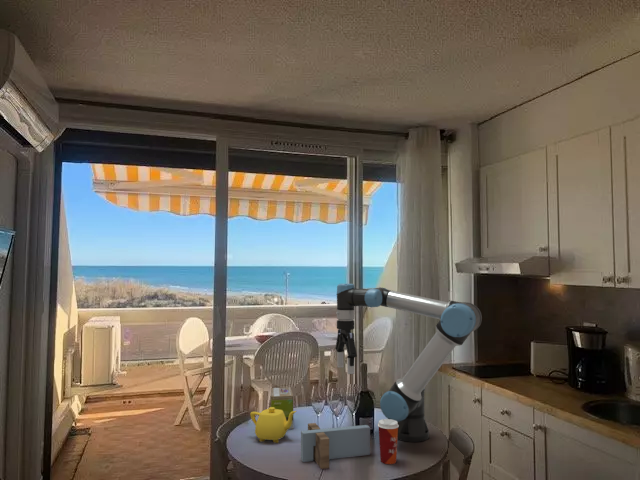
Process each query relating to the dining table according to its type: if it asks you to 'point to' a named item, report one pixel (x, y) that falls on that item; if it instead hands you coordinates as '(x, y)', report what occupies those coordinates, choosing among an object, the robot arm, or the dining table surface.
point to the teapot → (271, 424)
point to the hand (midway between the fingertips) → (345, 370)
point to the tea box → (283, 401)
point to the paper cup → (388, 440)
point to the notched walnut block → (320, 447)
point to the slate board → (338, 442)
